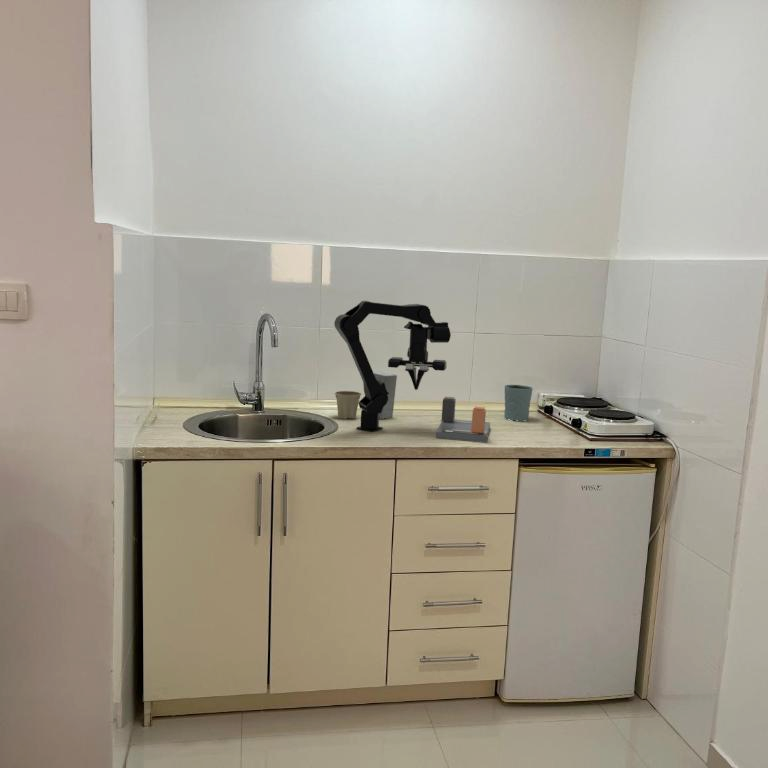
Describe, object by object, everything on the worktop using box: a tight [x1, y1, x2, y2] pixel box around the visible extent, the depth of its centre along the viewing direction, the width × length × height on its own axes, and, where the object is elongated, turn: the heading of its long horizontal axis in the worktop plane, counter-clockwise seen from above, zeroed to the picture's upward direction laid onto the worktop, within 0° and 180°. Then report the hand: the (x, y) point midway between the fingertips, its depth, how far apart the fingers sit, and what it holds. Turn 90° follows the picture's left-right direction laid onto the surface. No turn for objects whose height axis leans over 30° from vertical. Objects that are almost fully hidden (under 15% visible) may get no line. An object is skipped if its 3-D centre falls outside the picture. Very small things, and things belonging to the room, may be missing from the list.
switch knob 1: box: [441, 396, 457, 421], centre depth 259 cm, size 4×4×8 cm
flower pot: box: [334, 390, 362, 420], centre depth 267 cm, size 9×9×9 cm
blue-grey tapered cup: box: [503, 384, 533, 422], centre depth 279 cm, size 10×10×12 cm
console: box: [435, 418, 491, 443], centre depth 252 cm, size 16×22×2 cm
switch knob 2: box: [471, 406, 487, 433], centre depth 244 cm, size 4×4×8 cm
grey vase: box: [373, 370, 398, 420], centre depth 270 cm, size 8×7×16 cm
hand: (416, 389), depth 254 cm, fingers closed
